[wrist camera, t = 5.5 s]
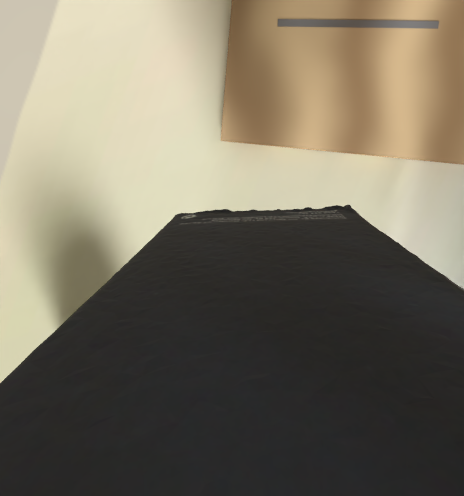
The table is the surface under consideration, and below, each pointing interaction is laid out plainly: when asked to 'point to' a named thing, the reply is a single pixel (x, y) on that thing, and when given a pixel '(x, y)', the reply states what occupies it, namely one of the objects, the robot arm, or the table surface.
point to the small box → (248, 369)
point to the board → (348, 77)
